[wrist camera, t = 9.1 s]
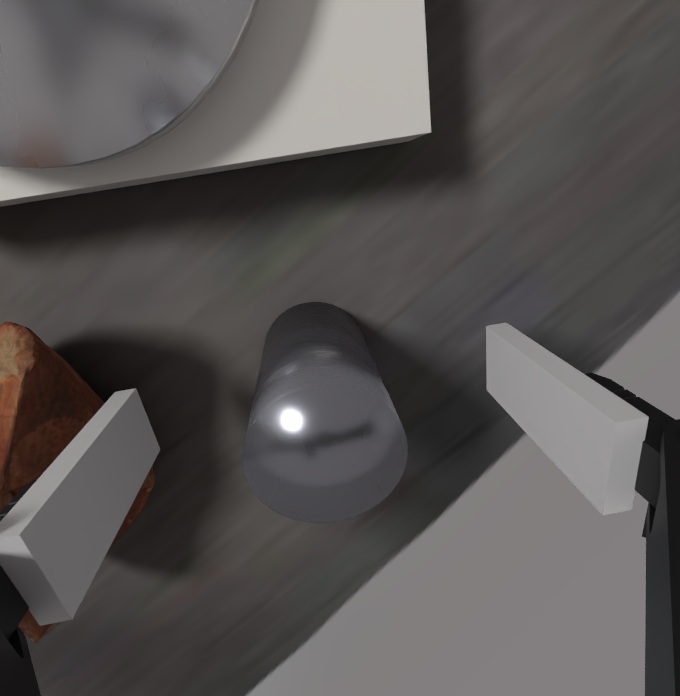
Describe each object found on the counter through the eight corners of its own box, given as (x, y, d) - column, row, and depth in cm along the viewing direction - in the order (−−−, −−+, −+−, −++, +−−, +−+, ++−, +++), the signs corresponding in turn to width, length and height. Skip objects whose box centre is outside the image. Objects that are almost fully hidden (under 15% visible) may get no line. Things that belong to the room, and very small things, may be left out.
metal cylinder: (276, 401, 19) (263, 535, 12) (254, 311, 18) (222, 403, 10) (369, 384, 19) (414, 506, 12) (357, 293, 18) (400, 371, 10)
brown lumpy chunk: (-40, 254, 12) (-200, 647, 7) (212, 326, 18) (228, 578, 13) (-80, 426, 19) (-176, 691, 14) (111, 440, 25) (94, 634, 19)
